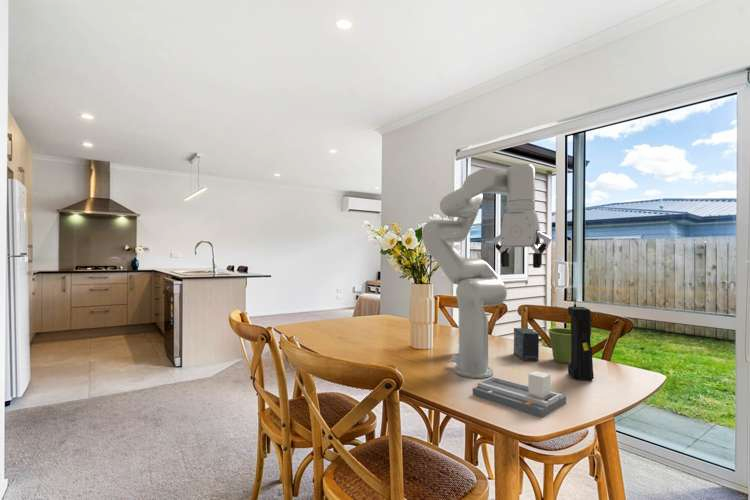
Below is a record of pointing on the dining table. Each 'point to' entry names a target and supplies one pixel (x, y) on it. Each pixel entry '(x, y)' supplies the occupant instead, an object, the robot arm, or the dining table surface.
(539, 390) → the fader tab
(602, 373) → the dining table surface
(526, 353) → the small box
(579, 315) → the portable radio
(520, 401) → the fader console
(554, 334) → the plant pot
